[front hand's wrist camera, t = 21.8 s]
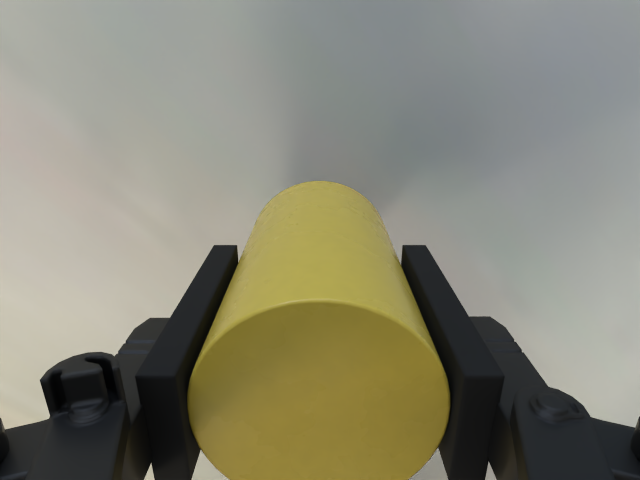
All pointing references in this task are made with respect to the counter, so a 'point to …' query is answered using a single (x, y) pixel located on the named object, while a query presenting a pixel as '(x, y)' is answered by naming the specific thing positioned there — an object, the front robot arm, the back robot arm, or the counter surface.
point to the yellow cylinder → (318, 351)
